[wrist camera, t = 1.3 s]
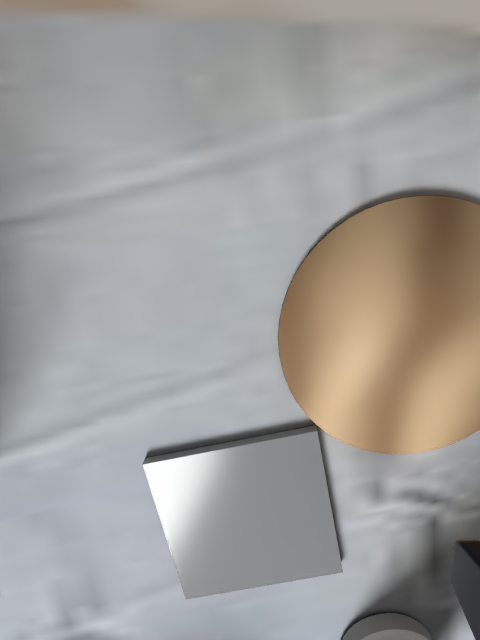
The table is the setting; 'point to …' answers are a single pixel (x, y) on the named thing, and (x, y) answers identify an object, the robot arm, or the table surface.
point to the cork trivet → (389, 327)
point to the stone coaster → (246, 512)
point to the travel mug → (387, 628)
